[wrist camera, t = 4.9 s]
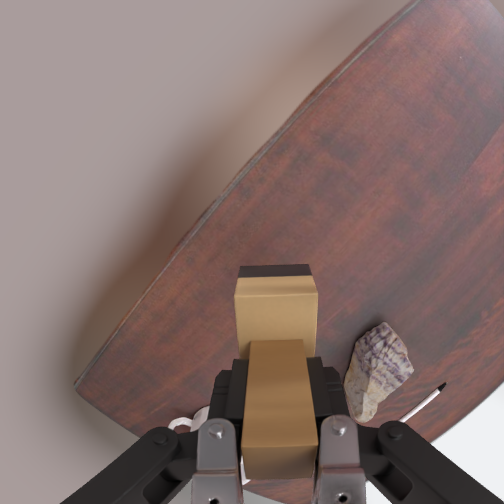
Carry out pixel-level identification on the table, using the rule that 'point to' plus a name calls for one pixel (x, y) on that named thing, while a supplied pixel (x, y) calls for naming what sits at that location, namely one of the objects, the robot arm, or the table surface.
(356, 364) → the mineral specimen
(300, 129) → the table surface
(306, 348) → the scrub brush
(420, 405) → the pen
